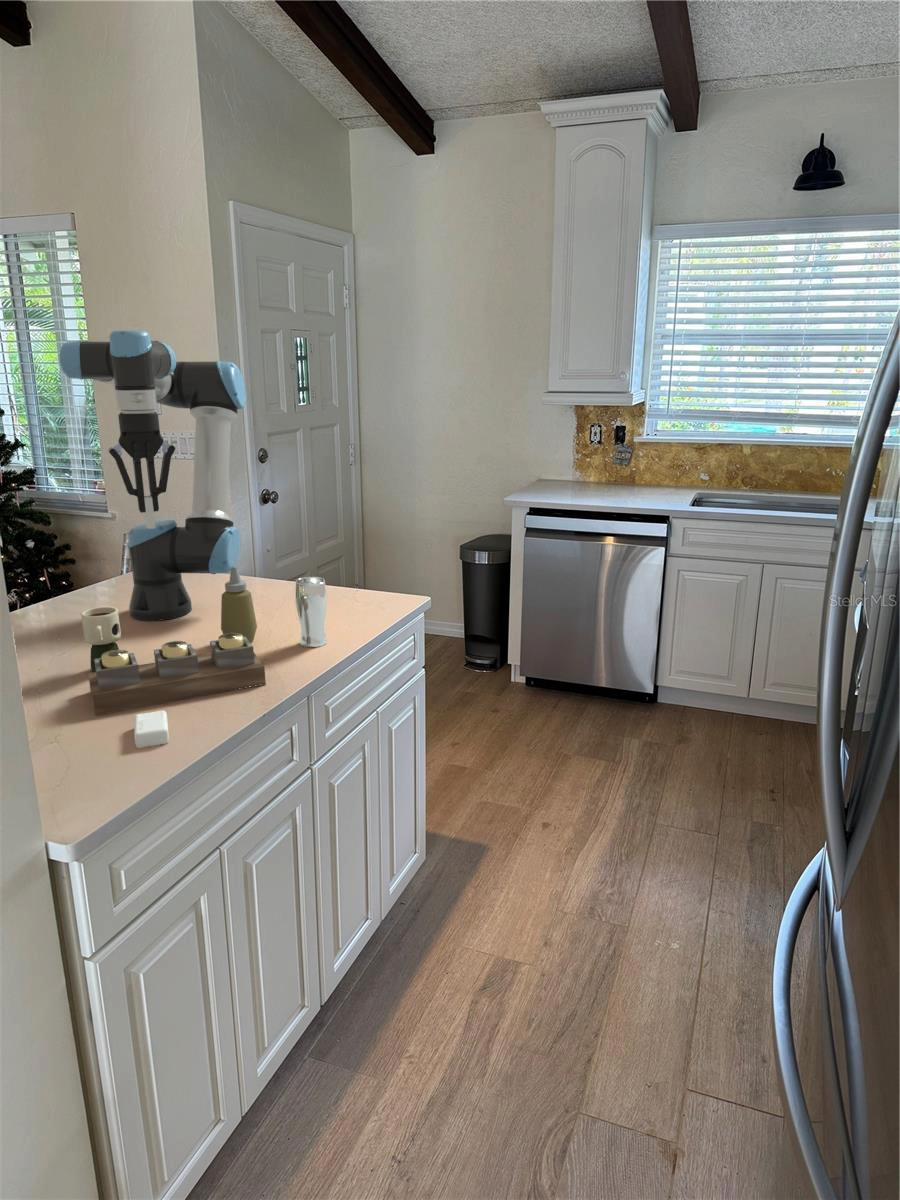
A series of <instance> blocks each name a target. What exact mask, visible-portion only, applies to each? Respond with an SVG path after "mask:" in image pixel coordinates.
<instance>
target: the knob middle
mask: <svg viewBox="0 0 900 1200" xmlns="http://www.w3.org/2000/svg"><path fill="white" fill-rule="evenodd" d="M187 645H188V642H186V641H183V640H173V641H169V642H165V643H163V644H162V645H161V649H162V654H163V660H164V659H170V658H177V657H183V656H188V647H187Z"/></svg>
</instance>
